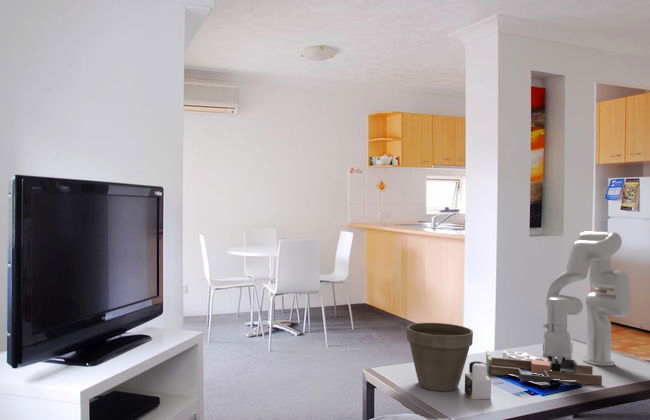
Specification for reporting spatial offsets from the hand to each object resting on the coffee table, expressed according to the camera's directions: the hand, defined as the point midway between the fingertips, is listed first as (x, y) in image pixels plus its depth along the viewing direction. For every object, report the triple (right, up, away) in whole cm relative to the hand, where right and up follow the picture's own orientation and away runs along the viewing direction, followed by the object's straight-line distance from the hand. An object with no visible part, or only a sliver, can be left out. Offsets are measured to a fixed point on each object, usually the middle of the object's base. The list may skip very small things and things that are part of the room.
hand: (556, 372), depth 210 cm
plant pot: (-52, 0, -15) cm, 54 cm away
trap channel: (-6, -1, +1) cm, 6 cm away
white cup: (+12, -2, +20) cm, 23 cm away
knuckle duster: (-7, -2, +19) cm, 20 cm away
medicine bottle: (-40, 0, -26) cm, 48 cm away
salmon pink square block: (-5, -2, +3) cm, 6 cm away
